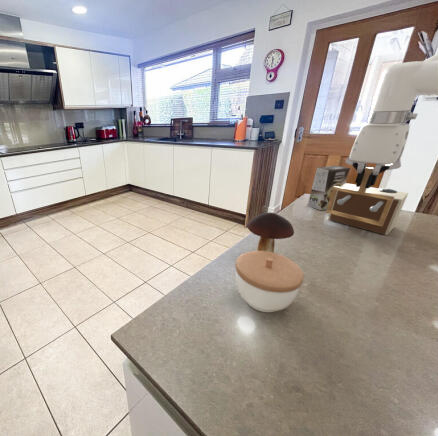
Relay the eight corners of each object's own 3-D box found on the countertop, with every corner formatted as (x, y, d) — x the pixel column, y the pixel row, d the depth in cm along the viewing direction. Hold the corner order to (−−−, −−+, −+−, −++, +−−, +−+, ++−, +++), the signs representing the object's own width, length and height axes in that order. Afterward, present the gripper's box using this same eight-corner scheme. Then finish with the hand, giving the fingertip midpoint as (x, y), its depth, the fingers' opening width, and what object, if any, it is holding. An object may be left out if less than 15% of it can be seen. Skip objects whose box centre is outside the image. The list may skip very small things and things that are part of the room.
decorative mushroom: (240, 250, 71) (246, 204, 64) (280, 254, 68) (291, 206, 61) (243, 272, 61) (250, 221, 55) (290, 278, 58) (304, 224, 52)
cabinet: (393, 227, 78) (408, 193, 73) (378, 245, 69) (394, 208, 64) (336, 213, 90) (345, 183, 85) (317, 227, 81) (326, 194, 75)
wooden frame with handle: (383, 225, 68) (405, 171, 61) (381, 226, 67) (404, 172, 61) (327, 211, 79) (341, 164, 72) (325, 212, 78) (339, 164, 71)
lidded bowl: (286, 334, 44) (298, 289, 40) (222, 303, 52) (227, 263, 47) (300, 296, 53) (311, 255, 48) (243, 274, 60) (249, 237, 56)
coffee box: (320, 210, 92) (332, 170, 86) (306, 205, 98) (316, 167, 91) (338, 207, 94) (351, 167, 88) (324, 202, 100) (334, 164, 93)
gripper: (434, 117, 57) (403, 189, 65) (354, 118, 69) (336, 179, 76) (428, 119, 53) (397, 196, 61) (345, 120, 65) (327, 184, 73)
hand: (363, 186), depth 69 cm, fingers closed on wooden frame with handle, 1 cm apart
